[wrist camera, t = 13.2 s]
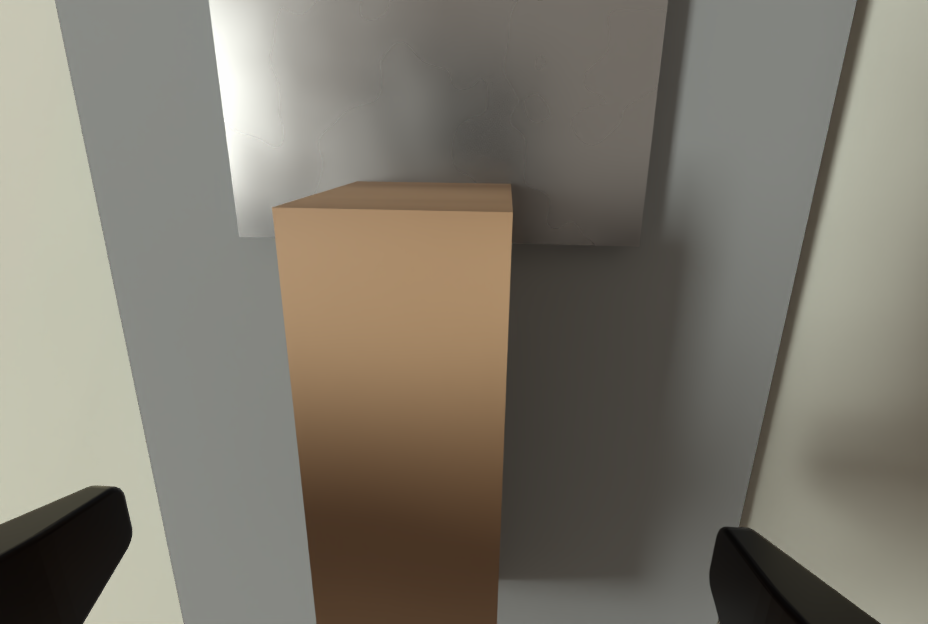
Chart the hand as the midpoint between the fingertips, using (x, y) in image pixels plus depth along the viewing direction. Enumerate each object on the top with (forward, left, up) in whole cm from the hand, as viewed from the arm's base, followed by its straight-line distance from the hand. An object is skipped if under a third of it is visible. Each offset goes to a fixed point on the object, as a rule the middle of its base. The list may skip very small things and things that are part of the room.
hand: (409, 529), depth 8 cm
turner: (+3, 0, -3) cm, 4 cm away
